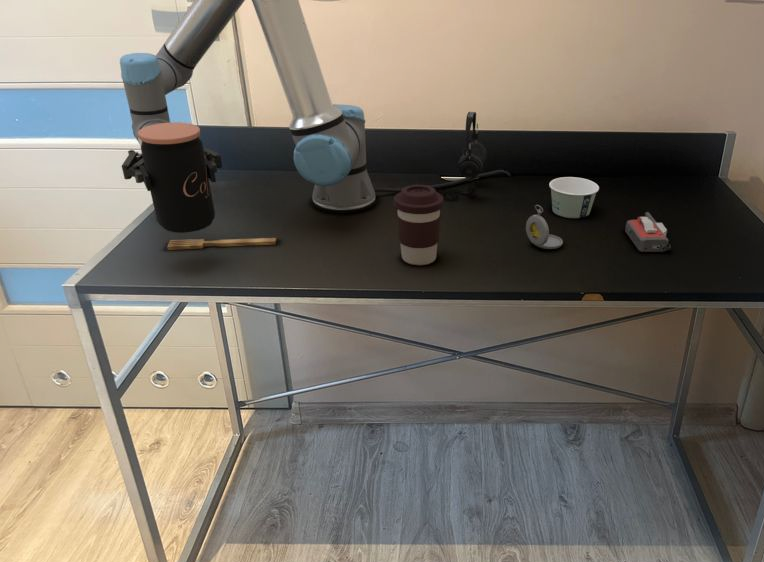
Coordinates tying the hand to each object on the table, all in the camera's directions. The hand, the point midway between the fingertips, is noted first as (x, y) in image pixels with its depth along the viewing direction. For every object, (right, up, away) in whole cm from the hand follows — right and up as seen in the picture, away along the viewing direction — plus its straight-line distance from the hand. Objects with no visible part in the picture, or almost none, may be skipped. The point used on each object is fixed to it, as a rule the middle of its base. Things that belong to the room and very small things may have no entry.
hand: (181, 179), depth 129 cm
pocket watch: (+70, -8, +26) cm, 75 cm away
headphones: (+51, +9, +52) cm, 74 cm away
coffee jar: (-2, -7, +8) cm, 11 cm away
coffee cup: (+43, -12, +19) cm, 48 cm away
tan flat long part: (0, -9, +21) cm, 23 cm away
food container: (+78, +3, +44) cm, 90 cm away
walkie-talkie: (+94, -5, +33) cm, 99 cm away
